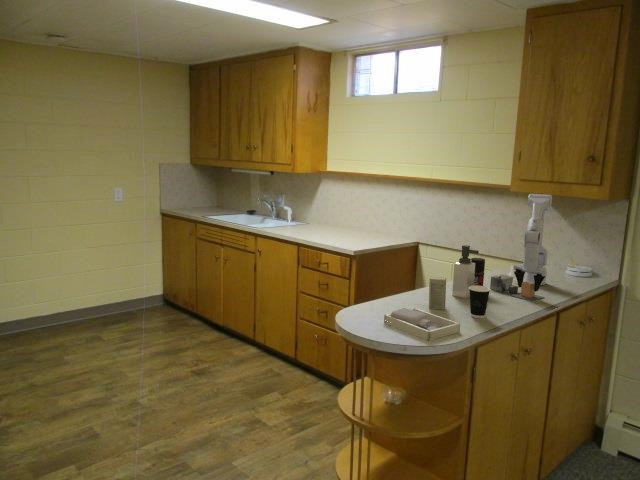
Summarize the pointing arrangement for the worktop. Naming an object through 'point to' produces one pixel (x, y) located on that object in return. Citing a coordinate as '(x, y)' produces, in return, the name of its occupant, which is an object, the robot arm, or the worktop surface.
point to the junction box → (501, 283)
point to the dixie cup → (478, 300)
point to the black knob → (513, 289)
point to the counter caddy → (447, 329)
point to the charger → (412, 317)
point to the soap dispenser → (464, 274)
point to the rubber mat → (527, 298)
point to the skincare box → (437, 293)
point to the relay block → (527, 289)
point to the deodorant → (478, 271)
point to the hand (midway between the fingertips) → (528, 289)
